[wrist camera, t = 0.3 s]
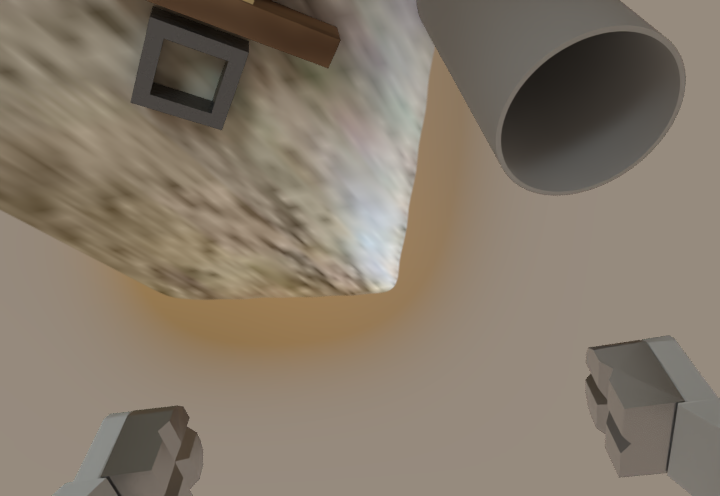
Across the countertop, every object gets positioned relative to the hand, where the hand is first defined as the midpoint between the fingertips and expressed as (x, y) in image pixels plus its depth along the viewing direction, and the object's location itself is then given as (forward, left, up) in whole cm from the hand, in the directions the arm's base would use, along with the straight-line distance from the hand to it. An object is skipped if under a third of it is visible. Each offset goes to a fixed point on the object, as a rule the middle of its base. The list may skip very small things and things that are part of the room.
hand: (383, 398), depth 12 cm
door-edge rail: (+11, -1, -49) cm, 50 cm away
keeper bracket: (+19, -2, -49) cm, 53 cm away
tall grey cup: (+1, +21, -49) cm, 54 cm away
